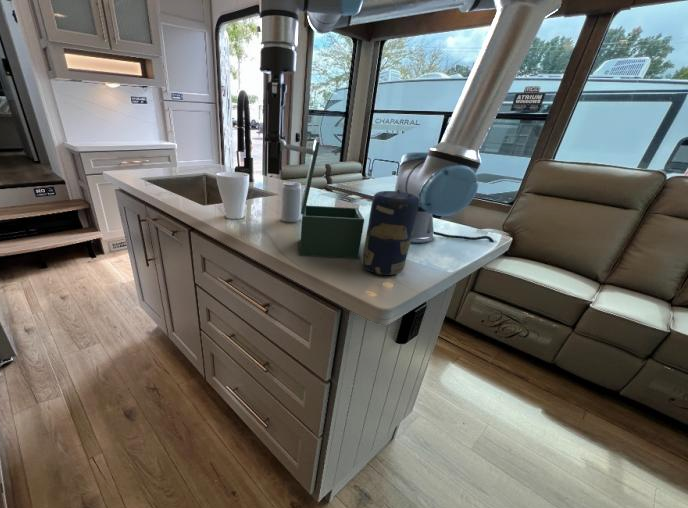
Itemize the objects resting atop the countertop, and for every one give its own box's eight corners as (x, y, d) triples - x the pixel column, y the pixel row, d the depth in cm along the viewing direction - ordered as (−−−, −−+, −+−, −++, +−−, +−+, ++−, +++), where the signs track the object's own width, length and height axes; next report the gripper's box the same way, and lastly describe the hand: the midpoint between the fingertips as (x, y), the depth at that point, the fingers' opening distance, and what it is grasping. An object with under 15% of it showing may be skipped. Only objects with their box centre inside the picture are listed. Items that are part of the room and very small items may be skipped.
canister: (409, 269, 74) (430, 190, 65) (391, 282, 68) (411, 196, 59) (373, 258, 79) (387, 183, 70) (353, 268, 73) (365, 188, 64)
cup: (222, 211, 112) (220, 171, 105) (252, 213, 111) (251, 172, 105) (215, 220, 102) (212, 176, 96) (247, 221, 102) (246, 177, 96)
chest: (352, 243, 88) (357, 208, 84) (358, 258, 79) (364, 219, 74) (300, 240, 89) (302, 205, 84) (299, 255, 79) (302, 216, 74)
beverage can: (298, 224, 102) (300, 185, 96) (278, 222, 103) (279, 183, 97) (301, 219, 108) (303, 182, 102) (283, 217, 109) (284, 180, 103)
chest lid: (318, 139, 76) (279, 131, 75) (320, 142, 66) (275, 132, 66) (304, 203, 84) (269, 196, 83) (304, 214, 74) (264, 206, 74)
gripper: (264, 56, 72) (263, 165, 83) (252, 37, 55) (253, 177, 67) (297, 57, 72) (292, 167, 83) (295, 39, 55) (288, 179, 67)
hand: (274, 171), depth 75 cm, fingers closed on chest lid, 6 cm apart
